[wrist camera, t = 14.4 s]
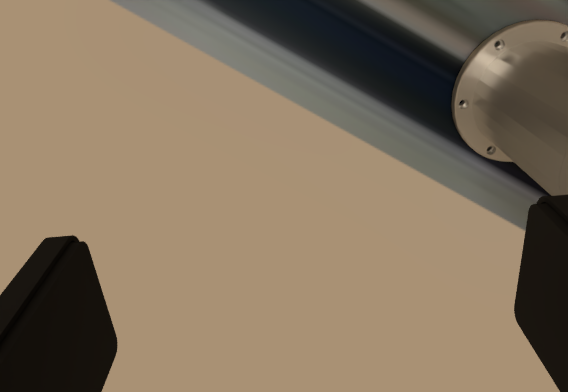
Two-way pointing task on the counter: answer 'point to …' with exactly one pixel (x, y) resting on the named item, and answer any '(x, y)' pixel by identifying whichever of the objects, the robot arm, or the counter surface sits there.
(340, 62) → the counter surface
